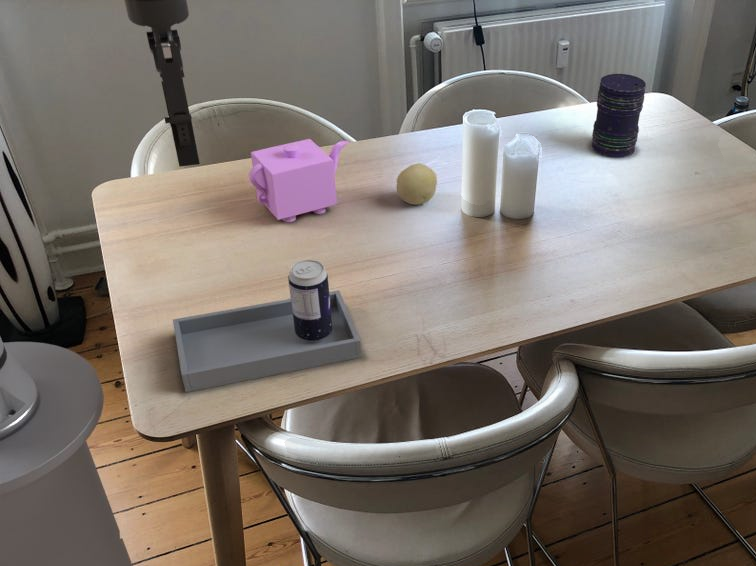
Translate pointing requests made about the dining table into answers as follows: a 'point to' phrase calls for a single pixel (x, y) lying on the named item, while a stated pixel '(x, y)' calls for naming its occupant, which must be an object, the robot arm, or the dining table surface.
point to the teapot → (295, 178)
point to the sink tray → (257, 343)
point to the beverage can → (310, 300)
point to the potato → (416, 184)
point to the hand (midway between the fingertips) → (184, 143)
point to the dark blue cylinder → (618, 115)
